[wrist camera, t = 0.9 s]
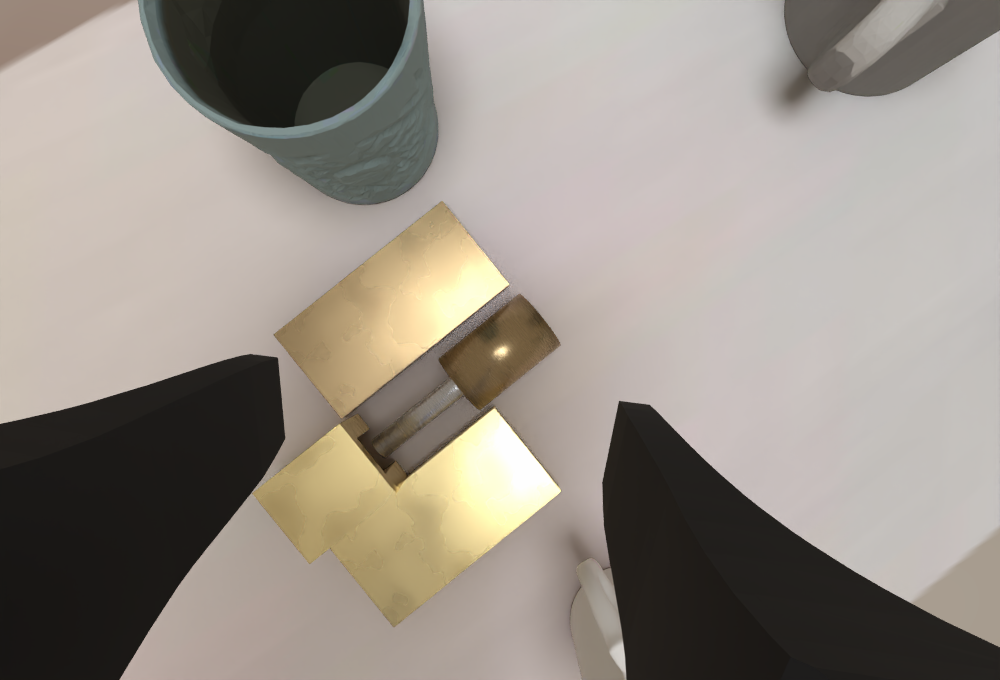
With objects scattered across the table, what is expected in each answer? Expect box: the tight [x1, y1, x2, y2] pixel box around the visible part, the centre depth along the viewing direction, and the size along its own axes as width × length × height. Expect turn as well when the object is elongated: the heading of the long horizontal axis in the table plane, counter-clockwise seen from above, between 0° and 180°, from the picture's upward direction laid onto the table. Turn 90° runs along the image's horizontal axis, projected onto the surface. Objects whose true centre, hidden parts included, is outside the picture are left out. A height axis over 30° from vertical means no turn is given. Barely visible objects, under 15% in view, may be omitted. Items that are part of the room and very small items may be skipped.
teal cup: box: [138, 0, 438, 204], centre depth 24 cm, size 10×10×12 cm
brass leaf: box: [252, 406, 561, 627], centre depth 29 cm, size 12×11×4 cm
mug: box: [570, 558, 626, 680], centre depth 25 cm, size 10×7×12 cm, turn 31°
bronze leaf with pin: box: [274, 201, 560, 458], centre depth 29 cm, size 12×10×4 cm
